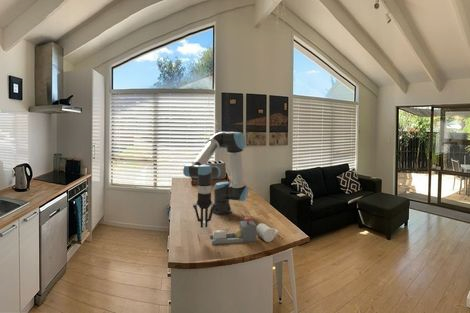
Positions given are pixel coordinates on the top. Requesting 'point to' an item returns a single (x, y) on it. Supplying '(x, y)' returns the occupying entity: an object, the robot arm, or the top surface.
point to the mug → (266, 232)
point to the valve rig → (239, 233)
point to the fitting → (219, 234)
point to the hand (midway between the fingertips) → (203, 232)
